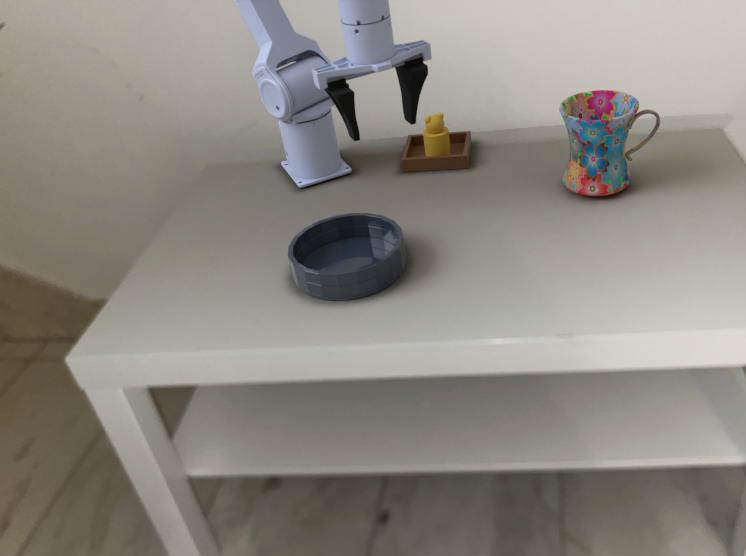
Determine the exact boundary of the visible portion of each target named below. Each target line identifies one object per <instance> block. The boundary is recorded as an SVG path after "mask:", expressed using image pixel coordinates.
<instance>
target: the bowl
mask: <svg viewBox="0 0 746 556" xmlns="http://www.w3.org/2000/svg"><path fill="white" fill-rule="evenodd" d="M405 245H406V244H405V240H404V234H403V229H402V227H401V226H400V225H399V224H398V223H397V222H396V221H395V220H394V219H391V218H390V217H387V216H385V215H382V214H376V213H371V212H349V213H344V214H343V213H342V214H337V215H332V216H330V217H327V218H324V219H320V220H317V221H315V222H314V223H312V224H310V225H308V226H306V227H304V228H303V229H302V230H300V231H299V232H298V233H297V234H296V235H295V236H294V237H293V238H292V240H291V242H290V243H289V244H288V247H287V258H288V263H289V265H290V266H289V267H290V270H291V274H292V277H293V279H294V282H295V284H296V286H297V287H298V289H299V290H300V291H302V292H303V293H304V294H306V295H308V296H309V297H312V298H314V299H319V300H324V301H333V302H334V301H348V300H350V301H351V300H357V299H360V298H365V297H368V296H371V295H373V294H376V293H379V292H381V291H383V290H385V289H386V288H388V287H390V286H391V285H392V284H394V283H395V282H396V281H397V280H398V279H400V277H401V276H402V274H403V273H404V271H405V270H406V266H407V251H406V246H405Z"/></svg>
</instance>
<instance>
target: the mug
mask: <svg viewBox="0 0 746 556" xmlns="http://www.w3.org/2000/svg"><path fill="white" fill-rule="evenodd" d="M558 108H559V109H558V110H559V113H560V116H561V117H562V120H563V122H564V125H565V128H566V131H567V136H568V140H569V159H568V164H567V167H566V170H565V172H564V174H563V176H562V183H563V185H564V186H565V188H566V189H567V190H568V191H571V192H573V193H575V194H578V195H582V196H587V197H603V196H610V195H613V194H616V193H619V192H621V191H623V190H625V189H626V188H627V187H628V186H629V185H630V183H631V182H632V175H631V172H630V170H629V167H628V163H627V161H629V162H632V161H633V158H632V157H631V155H633V154H634V153H635V152H637V151H639V150H641V149H642V148H643V147H645V146H646V145H647V144H648V143H649V142H650V141H651V140H652V139H653V138H654V136H655V135H656V133H657V132H658V130H659V127H660V125H661V117H660V114H659V113H658V112H657V111H655V110H653V109H642V110H640V111H639V109H640V102H639V100H638V99H637V98H636V97H634V95H631V94H629V93H627V92H623V91H617V90H611V89H609V90H608V89H599V90H587V91H582V92H578V93H576V94H573V95H570V96H568V97H567V98H565V99H564V100H562V102H561V103H560V104H559V107H558ZM644 115H653V116H654V117H655V119H656V121H655V125H654V127H653V128H652V130H651V131H650V133H649V134H648V135H647V136H646V138H644V139H643V140H642V141H641V142H640V143H638V144H637V145H634V147H632V148H631V149H629V150H627V151H626V148H627V141H628V135H629V131H630V130H632V128H633V125H634V123H635V121H637V120H638V119H639V118H640V117H642V116H644Z"/></svg>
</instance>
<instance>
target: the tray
mask: <svg viewBox="0 0 746 556" xmlns="http://www.w3.org/2000/svg"><path fill="white" fill-rule="evenodd" d="M449 141H450V151H451V154H450V155H443V156H426V154H425V146H424V138H423V133H416V134H408V135H407V138H406V141H405V145H404V149H403V152H402V154H401V155H402V156H401V159H400V163H401V169H402V173H413V172H428V171H430V172H431V171H445V170H446V171H449V170H463V169H469V165H470V157H471V150H472V131H471V130H467V131H466V130H465V131H449Z"/></svg>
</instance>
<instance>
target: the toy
mask: <svg viewBox="0 0 746 556" xmlns="http://www.w3.org/2000/svg"><path fill="white" fill-rule="evenodd" d="M444 115H445V114H443V112H437V114H435V113H434V114H431V115H427V116H425V117H424V122H425V129H424V130H423V131H422V134H423V138H424V146H425V154H426V156H443V155H450V154H451V151H450V141H449V132H450V131H449V128H448V127H446V126H445V121H444Z"/></svg>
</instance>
